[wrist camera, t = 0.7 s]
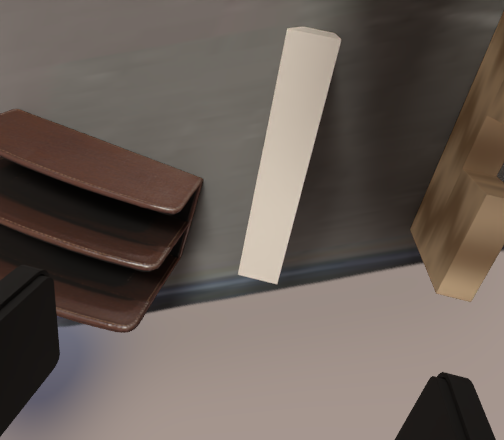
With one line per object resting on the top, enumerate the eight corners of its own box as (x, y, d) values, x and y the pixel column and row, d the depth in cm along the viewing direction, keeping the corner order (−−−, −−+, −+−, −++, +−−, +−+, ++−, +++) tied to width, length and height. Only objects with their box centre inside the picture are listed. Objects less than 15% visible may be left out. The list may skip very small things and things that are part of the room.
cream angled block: (303, 26, 31) (287, 28, 18) (334, 32, 31) (341, 39, 18) (268, 186, 38) (238, 274, 24) (294, 192, 37) (277, 284, 24)
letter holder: (182, 256, 43) (125, 349, 31) (14, 193, 43) (-111, 261, 31) (205, 177, 38) (148, 249, 26) (17, 106, 38) (-130, 145, 26)
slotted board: (513, -11, 28) (600, -28, 19) (549, -5, 28) (654, -18, 19) (409, 229, 37) (436, 293, 28) (436, 235, 37) (471, 302, 28)
